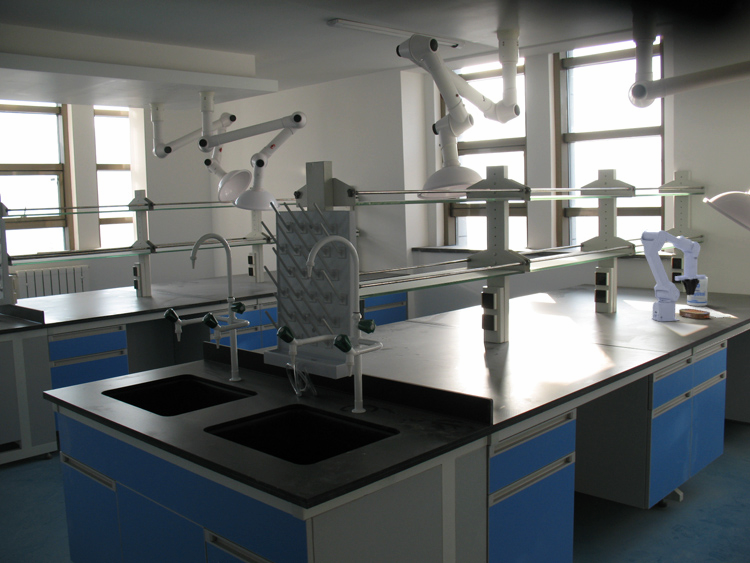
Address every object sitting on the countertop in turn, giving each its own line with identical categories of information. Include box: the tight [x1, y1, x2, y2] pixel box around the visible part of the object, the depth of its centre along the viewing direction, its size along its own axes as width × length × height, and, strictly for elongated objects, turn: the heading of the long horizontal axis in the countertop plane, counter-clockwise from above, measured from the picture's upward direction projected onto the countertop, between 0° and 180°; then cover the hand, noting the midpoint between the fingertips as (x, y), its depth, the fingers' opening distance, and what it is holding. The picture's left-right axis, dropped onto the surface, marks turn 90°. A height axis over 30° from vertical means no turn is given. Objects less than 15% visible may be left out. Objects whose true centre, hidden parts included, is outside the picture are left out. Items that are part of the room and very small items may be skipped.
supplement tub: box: [686, 276, 709, 307], centre depth 351 cm, size 10×10×15 cm
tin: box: [678, 308, 711, 320], centre depth 321 cm, size 15×3×8 cm
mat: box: [708, 310, 731, 319], centre depth 324 cm, size 7×15×1 cm, turn 7°
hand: (690, 294), depth 321 cm, fingers closed
